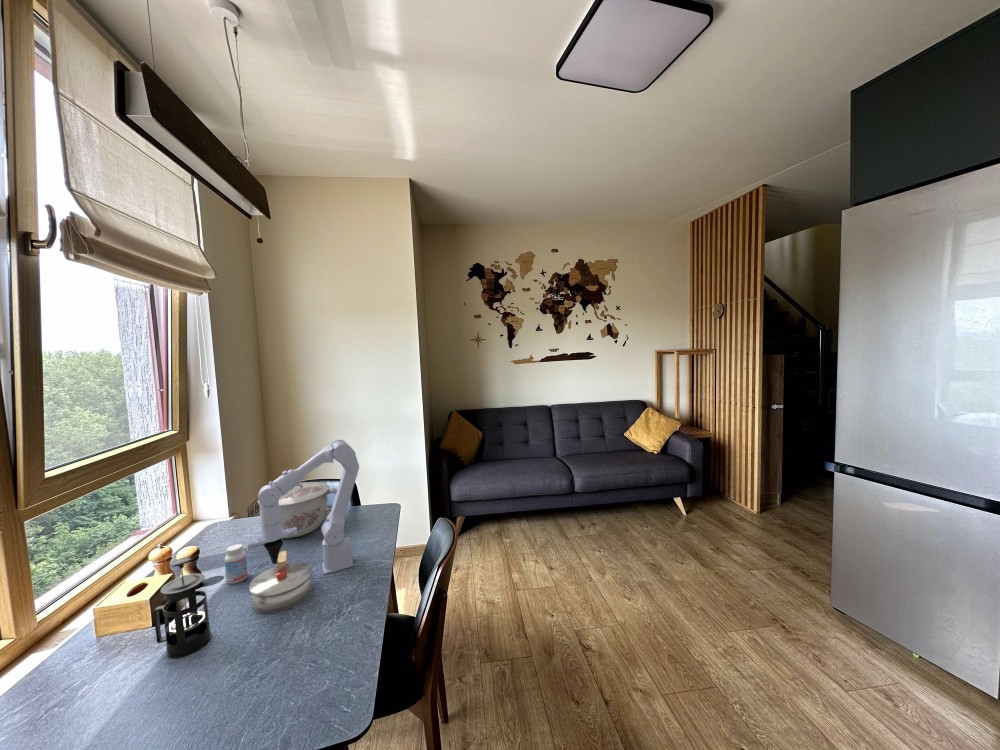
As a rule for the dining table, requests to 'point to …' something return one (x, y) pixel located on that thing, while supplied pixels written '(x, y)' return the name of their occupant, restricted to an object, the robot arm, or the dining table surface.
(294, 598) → the white oval dish
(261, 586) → the cooker lid
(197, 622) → the french press
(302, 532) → the chamber pot
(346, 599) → the dining table surface
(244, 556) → the pill bottle
